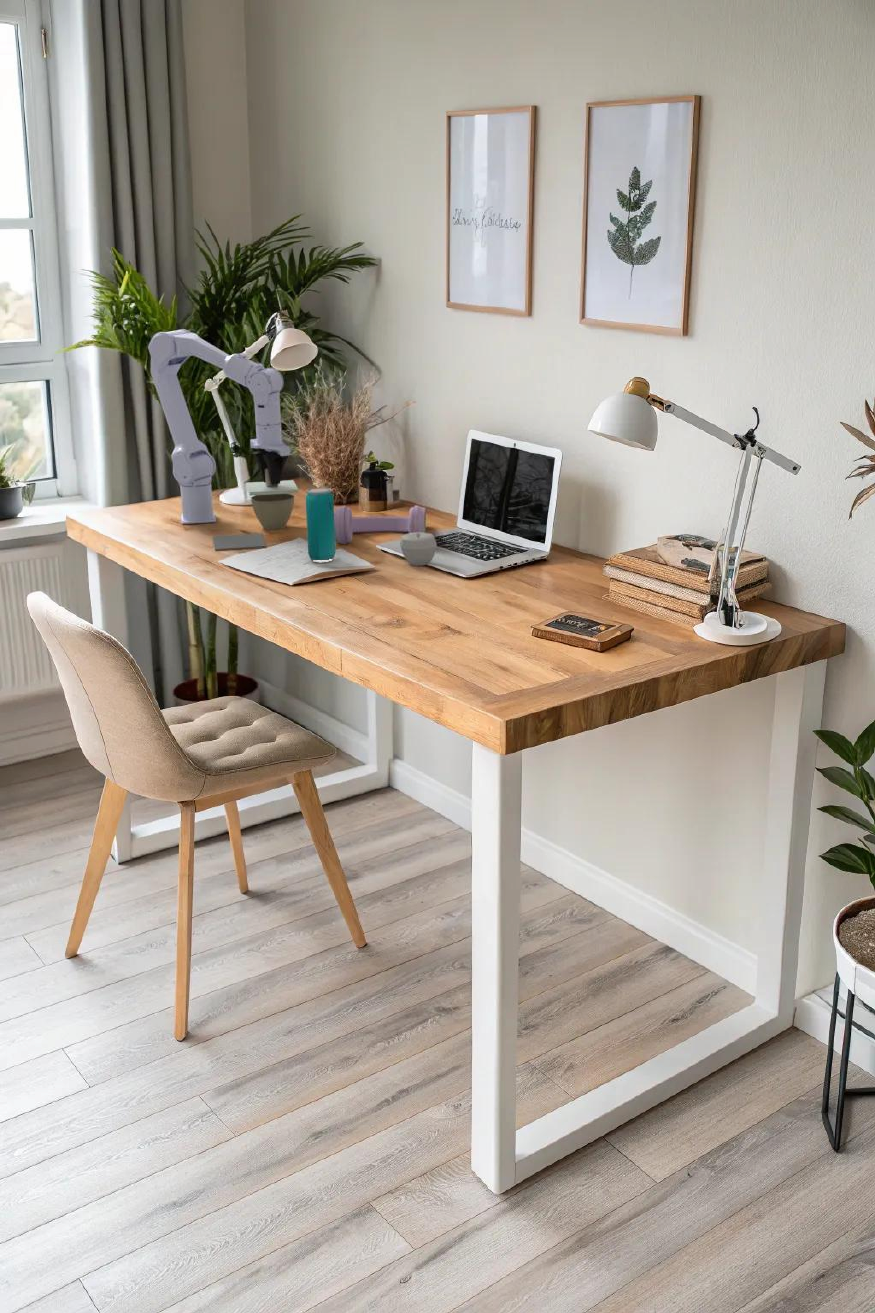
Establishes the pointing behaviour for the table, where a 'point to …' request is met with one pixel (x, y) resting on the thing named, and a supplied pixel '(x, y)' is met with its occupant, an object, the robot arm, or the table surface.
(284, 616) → the table surface
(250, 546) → the mat
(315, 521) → the beverage can
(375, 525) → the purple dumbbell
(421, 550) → the apple
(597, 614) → the table surface
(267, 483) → the lid
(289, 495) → the flower pot
